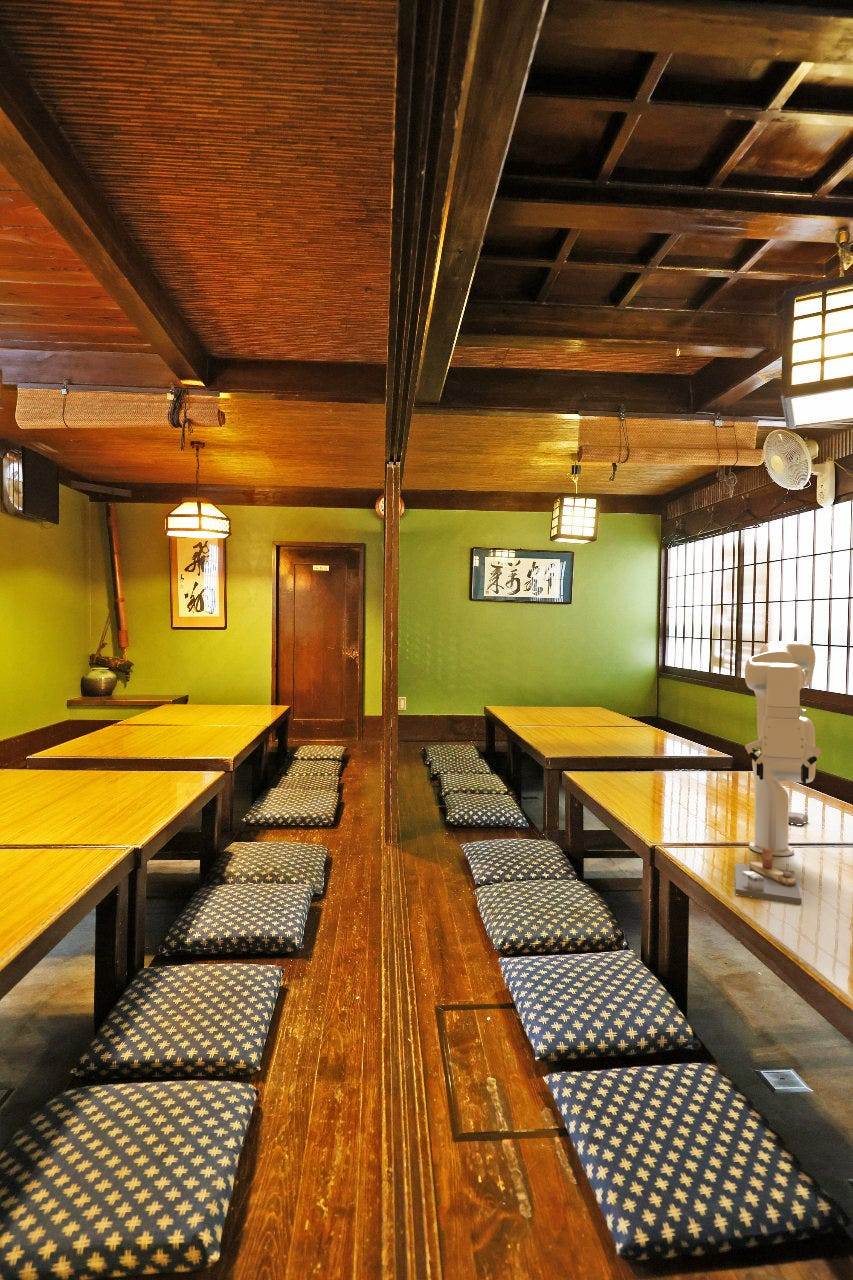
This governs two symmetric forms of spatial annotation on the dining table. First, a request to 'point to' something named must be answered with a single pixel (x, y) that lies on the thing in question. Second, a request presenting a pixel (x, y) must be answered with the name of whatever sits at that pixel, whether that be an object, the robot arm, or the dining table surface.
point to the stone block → (797, 818)
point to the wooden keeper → (754, 880)
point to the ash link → (771, 869)
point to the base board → (767, 887)
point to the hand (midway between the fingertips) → (782, 780)
